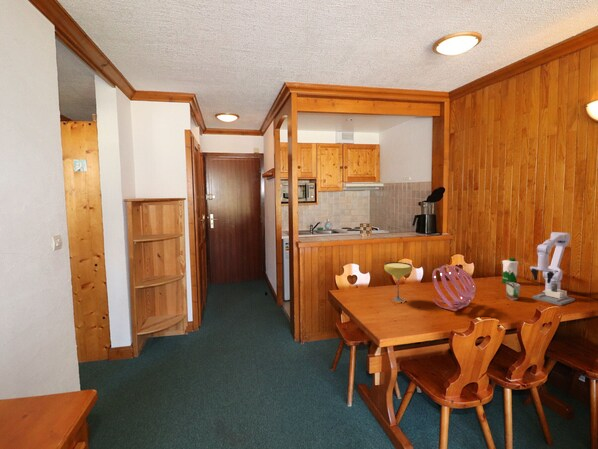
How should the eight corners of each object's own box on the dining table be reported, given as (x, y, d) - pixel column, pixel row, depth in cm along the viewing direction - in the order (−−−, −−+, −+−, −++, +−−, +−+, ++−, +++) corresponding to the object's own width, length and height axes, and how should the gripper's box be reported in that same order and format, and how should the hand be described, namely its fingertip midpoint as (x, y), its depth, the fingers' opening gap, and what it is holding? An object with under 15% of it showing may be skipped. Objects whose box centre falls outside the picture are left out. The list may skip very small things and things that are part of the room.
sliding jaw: (548, 294, 212) (549, 282, 211) (562, 297, 205) (563, 284, 204) (545, 295, 210) (545, 282, 209) (559, 298, 203) (560, 285, 202)
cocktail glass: (417, 301, 209) (418, 265, 207) (399, 307, 200) (399, 269, 198) (396, 294, 225) (396, 260, 222) (378, 299, 215) (378, 264, 213)
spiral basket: (411, 274, 205) (448, 255, 188) (433, 277, 222) (468, 260, 205) (429, 316, 191) (471, 300, 174) (451, 315, 208) (491, 300, 191)
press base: (546, 294, 218) (546, 286, 218) (574, 300, 204) (575, 292, 204) (532, 298, 210) (532, 290, 210) (560, 305, 196) (561, 297, 196)
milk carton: (518, 284, 243) (520, 259, 241) (509, 285, 241) (510, 259, 239) (508, 281, 251) (509, 257, 249) (499, 282, 249) (500, 257, 247)
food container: (524, 301, 204) (524, 286, 204) (513, 301, 206) (514, 286, 205) (515, 295, 217) (515, 281, 216) (505, 295, 218) (505, 281, 217)
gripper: (528, 260, 216) (527, 279, 218) (553, 264, 204) (551, 284, 205) (533, 259, 220) (532, 278, 221) (558, 263, 207) (557, 283, 208)
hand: (542, 281), depth 213 cm, fingers open, 7 cm apart
